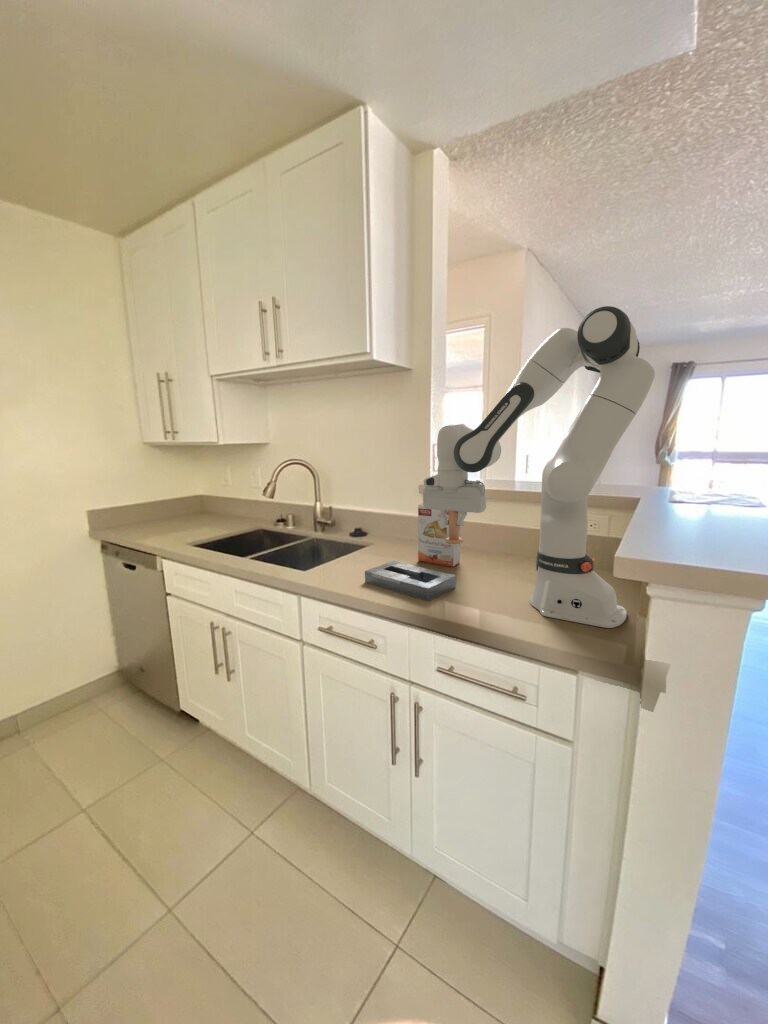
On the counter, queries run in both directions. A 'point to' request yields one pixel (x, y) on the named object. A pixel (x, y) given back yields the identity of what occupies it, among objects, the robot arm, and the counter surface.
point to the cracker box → (435, 539)
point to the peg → (453, 528)
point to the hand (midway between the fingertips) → (453, 525)
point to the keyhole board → (411, 580)
